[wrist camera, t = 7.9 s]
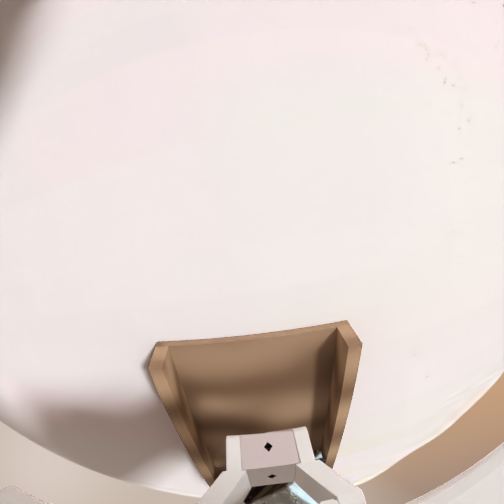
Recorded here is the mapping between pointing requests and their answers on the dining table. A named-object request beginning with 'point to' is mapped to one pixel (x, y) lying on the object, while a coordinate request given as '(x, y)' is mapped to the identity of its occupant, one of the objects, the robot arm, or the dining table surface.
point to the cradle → (258, 388)
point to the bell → (281, 492)
